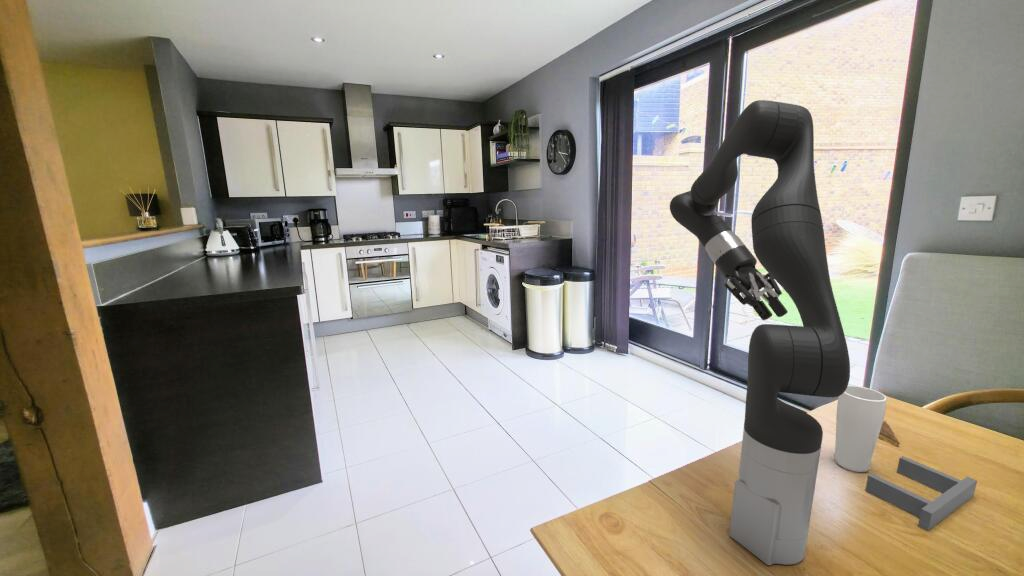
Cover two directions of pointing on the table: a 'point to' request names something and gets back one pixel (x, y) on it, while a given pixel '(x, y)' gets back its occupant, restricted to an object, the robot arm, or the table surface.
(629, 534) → the table surface
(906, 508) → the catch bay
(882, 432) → the shard
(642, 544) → the table surface
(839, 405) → the white cup
